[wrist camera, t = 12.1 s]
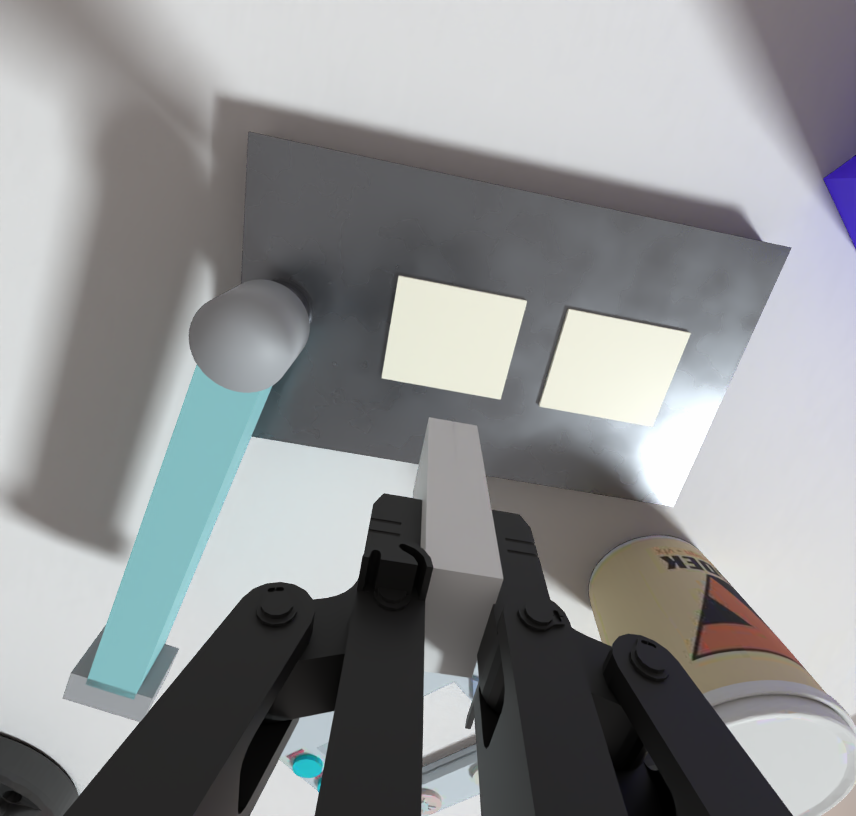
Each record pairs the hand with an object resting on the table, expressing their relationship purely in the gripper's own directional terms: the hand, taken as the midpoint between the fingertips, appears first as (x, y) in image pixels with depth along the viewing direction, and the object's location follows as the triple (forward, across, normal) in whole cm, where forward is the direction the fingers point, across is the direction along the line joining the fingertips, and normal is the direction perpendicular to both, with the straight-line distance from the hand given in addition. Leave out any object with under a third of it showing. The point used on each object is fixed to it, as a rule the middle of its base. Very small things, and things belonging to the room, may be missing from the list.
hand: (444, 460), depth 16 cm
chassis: (+12, +2, +1) cm, 12 cm away
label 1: (+10, 0, +1) cm, 10 cm away
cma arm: (+7, -10, -8) cm, 15 cm away
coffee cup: (+12, +16, -13) cm, 24 cm away
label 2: (+10, +8, +1) cm, 13 cm away
